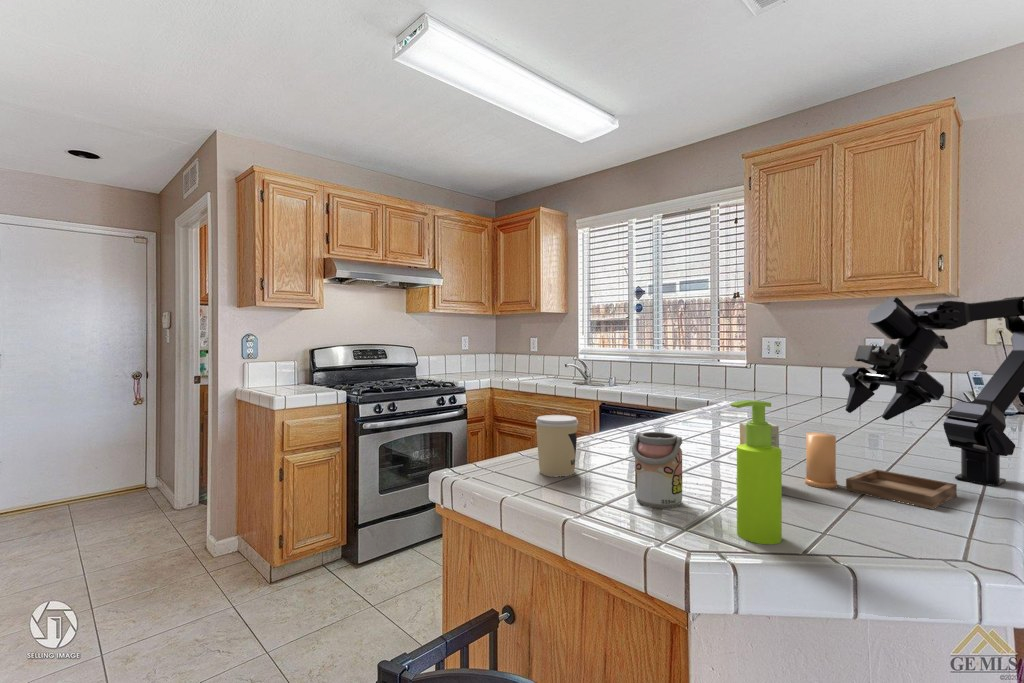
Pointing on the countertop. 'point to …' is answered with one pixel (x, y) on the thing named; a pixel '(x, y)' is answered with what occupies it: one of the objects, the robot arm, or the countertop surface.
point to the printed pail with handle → (658, 469)
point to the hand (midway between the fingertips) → (865, 415)
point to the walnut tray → (902, 488)
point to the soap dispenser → (759, 480)
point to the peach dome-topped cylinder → (821, 460)
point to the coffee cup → (556, 444)
